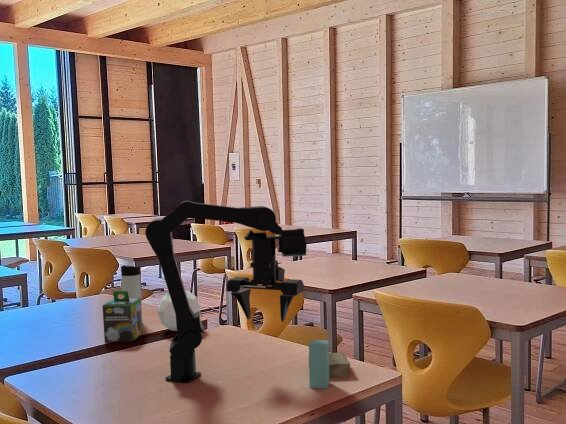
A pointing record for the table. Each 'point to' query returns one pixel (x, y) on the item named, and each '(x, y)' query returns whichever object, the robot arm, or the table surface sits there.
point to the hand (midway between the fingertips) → (265, 320)
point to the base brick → (338, 365)
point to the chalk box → (122, 318)
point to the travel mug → (131, 281)
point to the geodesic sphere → (168, 312)
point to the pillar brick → (319, 364)
